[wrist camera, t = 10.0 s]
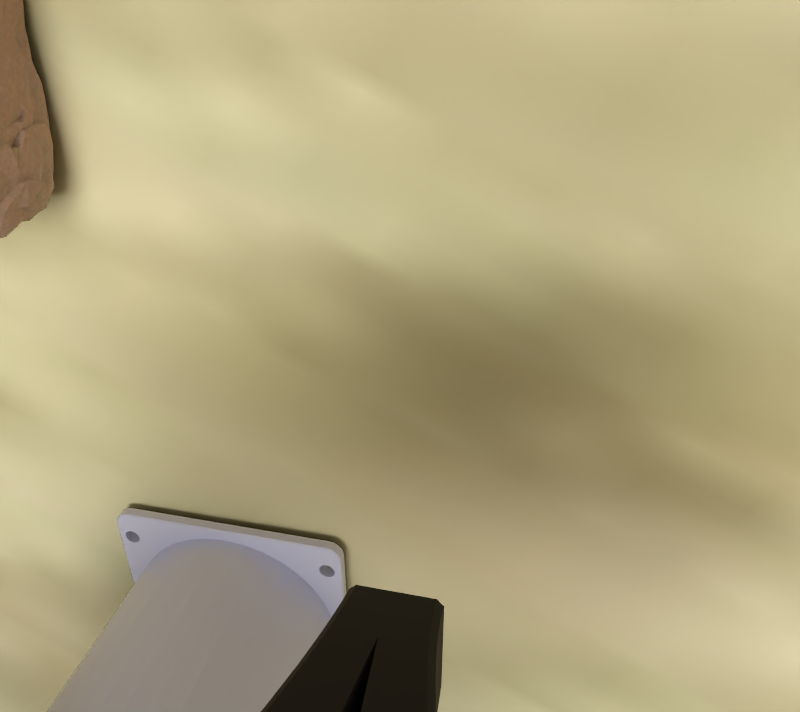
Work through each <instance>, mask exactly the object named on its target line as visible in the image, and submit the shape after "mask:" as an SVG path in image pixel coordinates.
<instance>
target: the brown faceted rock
mask: <svg viewBox="0 0 800 712" xmlns="http://www.w3.org/2000/svg"><path fill="white" fill-rule="evenodd" d="M53 171H54V168H53V142H52V137H51V133H50V127H49V118H48V112H47V107H46V101H45V96H44V91H43V86H42V82H41V80H40V78H39V76H38V74H37V71H36V69H35V67H34V65H33V62H32V59H31V51H30V46H29V42H28V38H27V33H26V29H25V21H24V6H23V0H0V238H3V237H6V236H7V235H8V234H9V233H10V232H12V231H13V230H14V229H15V228H16V227H17V226H18V225H19V224H20V223H21V222H22V221H29V220H31V219H32V218H33V217H34V216H35V215H36V214H37V213H38V212H40V211H41V210H43V209H45V208H46V207H47V204H48V202H49V199H50V196H51V194H52V191H53V188H54V181H53Z"/></svg>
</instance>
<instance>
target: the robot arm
mask: <svg viewBox="0 0 800 712" xmlns="http://www.w3.org/2000/svg"><path fill="white" fill-rule="evenodd" d="M117 523H118V527H119V531H120V534H121V538H122V541H123V545H124V549H125V552H126V556H127V559H128V563H129V567H130V570H131V574H132V577H133V581H134V586H133V587H132V589H131V590H130V592H129V593H128V595H127V596H126V598H125V599H124V600H123V602H122V603H121V605H120V606H119V608H118V609H117V611H116V612H115V613H114V615H113V616H112V618H111V619H110V621H109V622H108V624H107V625H106V626H105V628H104V629H103V631H102V632H101V634H100V635H99V637H98V638H97V640H96V641H95V642H94V644H93V645H92V647H91V648H90V650H89V651H88V653H87V654H86V655H85V657H84V658H83V660H82V661H81V663H80V664H79V666H78V667H77V669H76V670H75V671H74V673H73V674H72V676H71V677H70V679H69V680H68V682H67V683H66V684H65V686H64V687H63V689H62V690H61V692H60V693H59V695H58V696H57V698H56V699H55V700H54V702H53V703H52V705H51V706H50V708H49V709H48V711H47V712H437V710H438V703H439V696H440V689H441V676H442V648H443V620H444V606H443V605H442V604H441V603H440V602H439V601H438V600H437V599H432V598H426V597H421V596H415V595H409V594H404V593H398V592H393V591H387V590H381V589H376V588H370V587H365V586H359V585H355V586H354V587H352V588H350V589H349V590H348V592H347V593H346V578H345V562H344V553H343V550H342V549H341V548H340V547H339V546H338V545H337V544H335V543H333V542H330V541H325V540H319V539H313V538H307V537H301V536H295V535H289V534H283V533H277V532H271V531H265V530H259V529H253V528H247V527H241V526H236V525H230V524H224V523H218V522H212V521H206V520H200V519H194V518H188V517H182V516H176V515H170V514H164V513H158V512H152V511H146V510H140V509H134V508H127V509H125V510H123V512H122V513H121V514H120V515H119V517H118V519H117ZM326 565H327V566H330V567H331V568H330V567H327V566H326Z"/></svg>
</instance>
